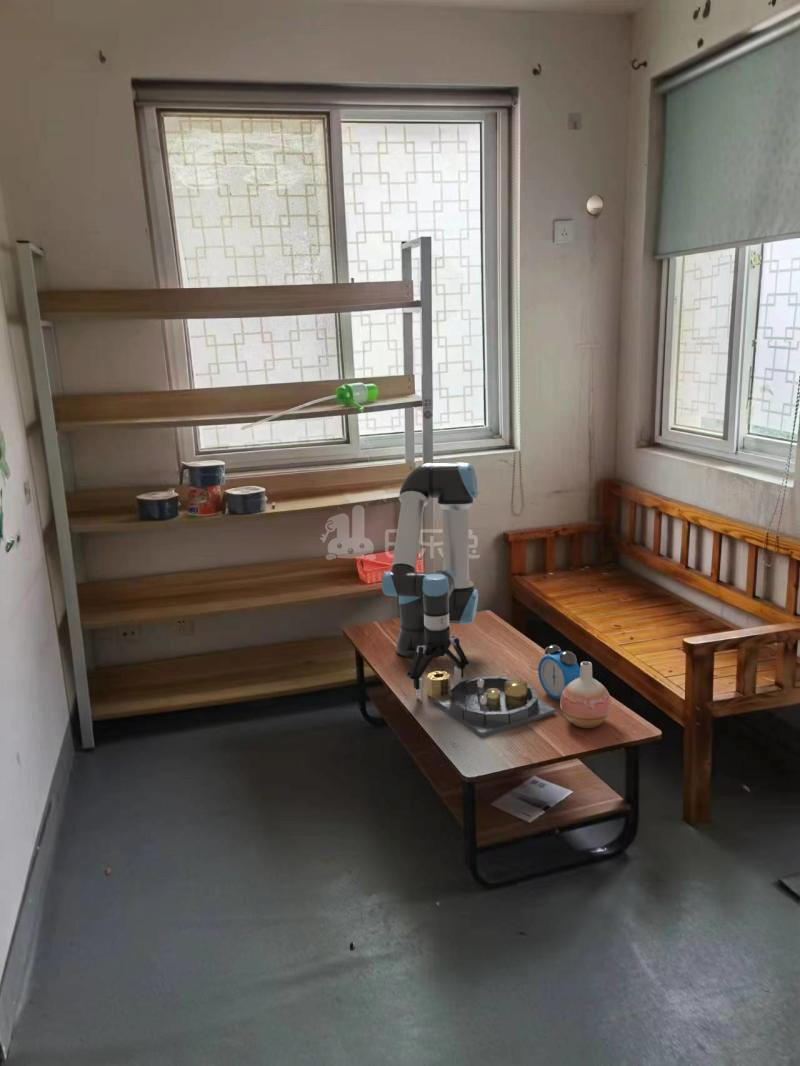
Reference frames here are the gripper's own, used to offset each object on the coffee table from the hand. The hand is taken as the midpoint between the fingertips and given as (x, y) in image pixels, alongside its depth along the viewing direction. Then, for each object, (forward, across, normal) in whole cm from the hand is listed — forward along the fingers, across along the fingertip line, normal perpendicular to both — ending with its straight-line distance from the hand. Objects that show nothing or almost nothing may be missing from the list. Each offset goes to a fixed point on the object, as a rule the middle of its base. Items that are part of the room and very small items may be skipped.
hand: (439, 693), depth 241 cm
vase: (+1, +24, -38) cm, 45 cm away
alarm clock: (+1, +29, -21) cm, 36 cm away
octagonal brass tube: (0, 0, 0) cm, 0 cm away
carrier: (0, +8, -17) cm, 19 cm away
